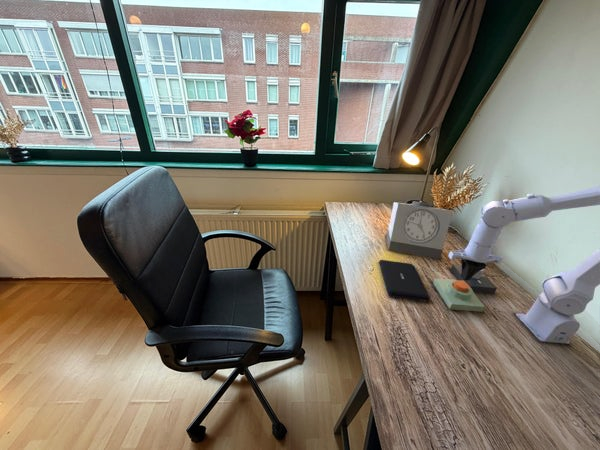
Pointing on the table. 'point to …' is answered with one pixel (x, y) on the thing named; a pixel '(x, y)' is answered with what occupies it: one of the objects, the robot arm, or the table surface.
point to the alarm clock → (418, 229)
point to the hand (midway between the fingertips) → (464, 278)
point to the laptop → (403, 280)
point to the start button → (461, 286)
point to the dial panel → (475, 281)
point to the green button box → (457, 296)
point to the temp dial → (478, 274)
